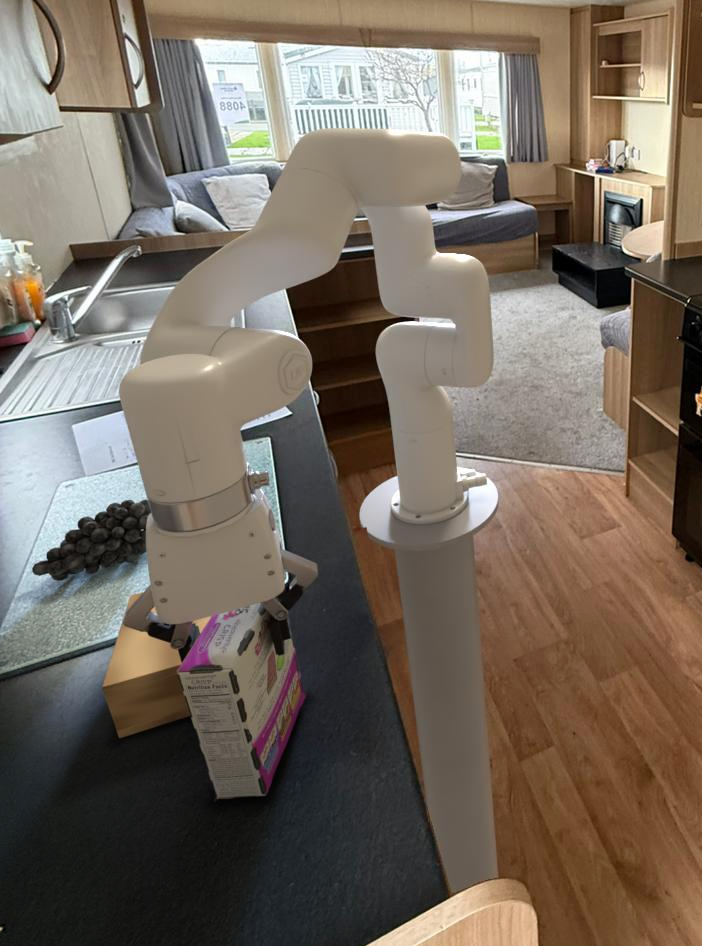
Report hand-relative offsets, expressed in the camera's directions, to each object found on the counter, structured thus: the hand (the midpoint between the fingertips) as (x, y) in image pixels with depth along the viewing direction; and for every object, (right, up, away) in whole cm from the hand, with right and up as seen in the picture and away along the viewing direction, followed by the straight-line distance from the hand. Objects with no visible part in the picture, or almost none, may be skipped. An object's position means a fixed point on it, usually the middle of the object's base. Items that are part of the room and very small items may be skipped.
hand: (241, 655), depth 62 cm
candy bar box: (0, -11, +4) cm, 12 cm away
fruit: (-36, -2, +30) cm, 47 cm away
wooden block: (-12, -8, +13) cm, 20 cm away
